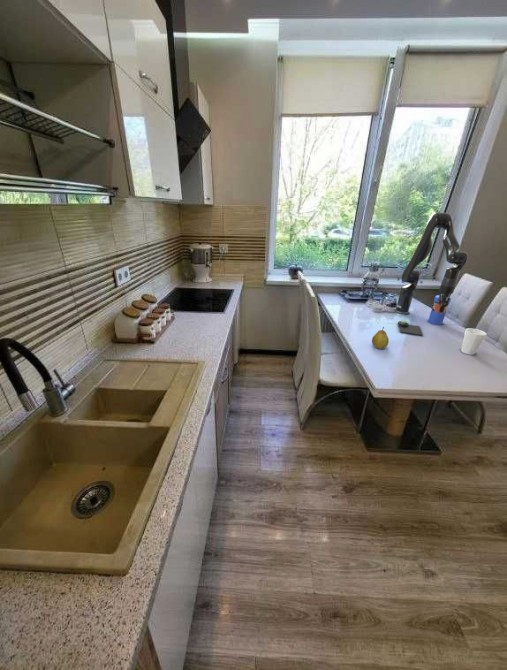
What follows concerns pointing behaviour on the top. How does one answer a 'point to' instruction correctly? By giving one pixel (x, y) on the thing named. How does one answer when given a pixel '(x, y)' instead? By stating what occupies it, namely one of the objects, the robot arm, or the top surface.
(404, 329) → the scale
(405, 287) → the robot arm
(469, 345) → the foam cup
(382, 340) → the fruit
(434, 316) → the water bottle
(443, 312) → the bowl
